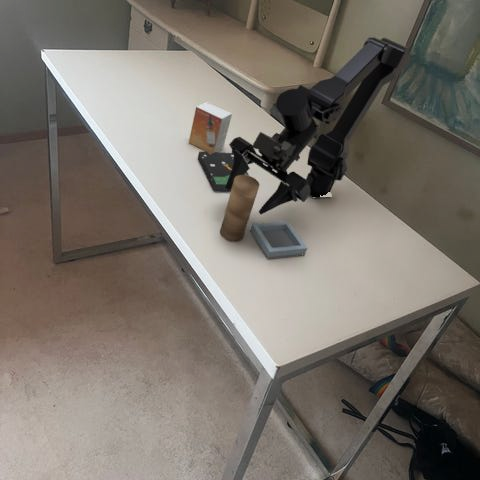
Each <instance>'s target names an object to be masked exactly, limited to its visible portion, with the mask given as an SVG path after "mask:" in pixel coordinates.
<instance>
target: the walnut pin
mask: <svg viewBox="0 0 480 480" xmlns="http://www.w3.org/2000/svg"><path fill="white" fill-rule="evenodd" d="M259 188H260V182H259V181H258V180H257V179H256V178H255V177H252V176H250V175H249V176H247V175H238V176H236V177H235V178H234V182H233V186H232V189H231V192H229V193H230V194H229V197H228V201H227V203H226V204H227V205H226V208H225V210H224V211H225V212H224V214H223V215H224V216H223V218H222V219H223V220H222V222H221V226H220V230H219V234H220V236H221V238H223V239H224V240H226V241H229V242H239V241H241V240H243V238H244V235H245V232H246V228H247V226H248V222H249V219H250V216H251V214H252V209H253V208H254V207H253V206H254V204H255V200H256V197H257V194H258V191H259Z"/></svg>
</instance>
